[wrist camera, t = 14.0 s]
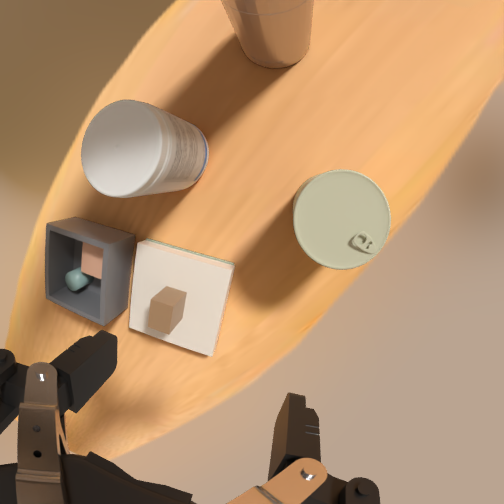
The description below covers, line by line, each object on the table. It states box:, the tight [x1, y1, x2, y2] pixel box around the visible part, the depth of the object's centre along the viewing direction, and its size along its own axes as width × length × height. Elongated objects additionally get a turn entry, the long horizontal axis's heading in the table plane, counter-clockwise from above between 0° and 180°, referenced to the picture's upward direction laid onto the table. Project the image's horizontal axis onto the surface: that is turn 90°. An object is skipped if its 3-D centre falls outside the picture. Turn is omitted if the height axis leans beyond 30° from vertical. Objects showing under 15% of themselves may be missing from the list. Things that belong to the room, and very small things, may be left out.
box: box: [45, 217, 135, 326], centre depth 40 cm, size 12×12×7 cm
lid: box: [129, 240, 235, 357], centre depth 39 cm, size 13×13×7 cm
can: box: [293, 169, 391, 270], centre depth 31 cm, size 9×9×12 cm
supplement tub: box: [81, 100, 209, 198], centre depth 31 cm, size 10×10×15 cm
